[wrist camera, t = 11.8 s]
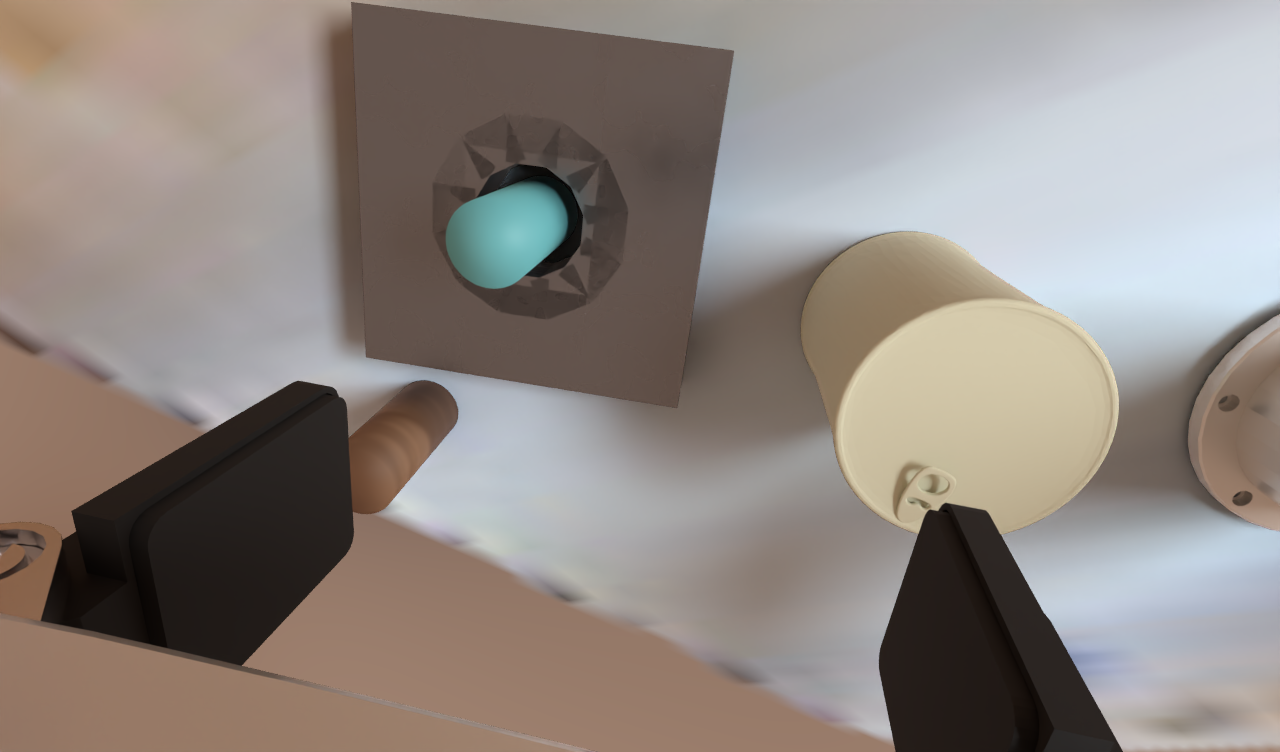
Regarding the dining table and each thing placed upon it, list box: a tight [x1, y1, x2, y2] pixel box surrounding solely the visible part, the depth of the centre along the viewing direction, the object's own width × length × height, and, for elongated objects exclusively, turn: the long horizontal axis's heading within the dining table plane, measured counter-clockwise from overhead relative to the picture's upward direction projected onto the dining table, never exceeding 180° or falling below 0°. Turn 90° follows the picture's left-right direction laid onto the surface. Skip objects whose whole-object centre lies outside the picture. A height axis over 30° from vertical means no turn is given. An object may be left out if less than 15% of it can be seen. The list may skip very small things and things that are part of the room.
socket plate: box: [351, 2, 734, 408], centre depth 32 cm, size 16×16×3 cm
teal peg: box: [446, 176, 577, 289], centre depth 30 cm, size 4×4×8 cm
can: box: [801, 232, 1119, 534], centre depth 28 cm, size 9×9×12 cm
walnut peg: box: [348, 380, 458, 514], centre depth 35 cm, size 4×4×8 cm
